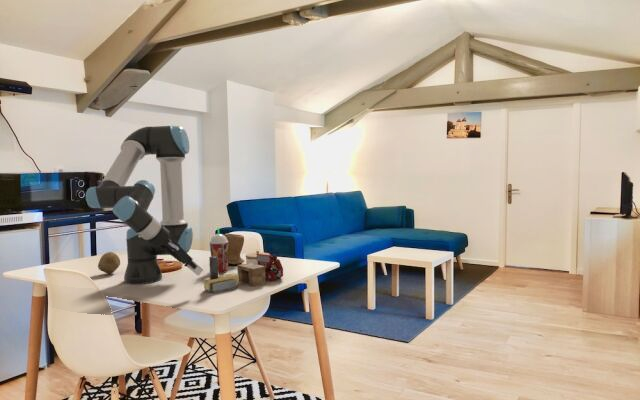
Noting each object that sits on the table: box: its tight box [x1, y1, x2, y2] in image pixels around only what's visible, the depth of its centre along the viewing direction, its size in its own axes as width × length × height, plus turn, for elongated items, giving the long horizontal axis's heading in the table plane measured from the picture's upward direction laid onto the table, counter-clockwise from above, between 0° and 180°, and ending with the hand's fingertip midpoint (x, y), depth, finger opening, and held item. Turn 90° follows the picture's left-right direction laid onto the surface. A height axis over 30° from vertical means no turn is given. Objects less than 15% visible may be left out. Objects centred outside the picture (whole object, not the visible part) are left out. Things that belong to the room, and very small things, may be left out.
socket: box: [236, 263, 267, 287], centre depth 187 cm, size 11×6×7 cm, turn 42°
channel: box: [204, 279, 238, 294], centre depth 178 cm, size 7×10×4 cm, turn 132°
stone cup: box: [223, 233, 245, 265], centre depth 228 cm, size 15×12×15 cm
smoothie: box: [209, 227, 229, 274], centre depth 210 cm, size 8×8×20 cm
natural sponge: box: [97, 251, 121, 274], centre depth 211 cm, size 9×9×10 cm
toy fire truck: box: [257, 254, 284, 282], centre depth 193 cm, size 7×12×10 cm, turn 60°
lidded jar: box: [245, 250, 271, 265], centre depth 208 cm, size 11×11×9 cm
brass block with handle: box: [203, 256, 240, 290], centre depth 178 cm, size 4×13×12 cm, turn 131°
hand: (200, 272), depth 172 cm, fingers closed
